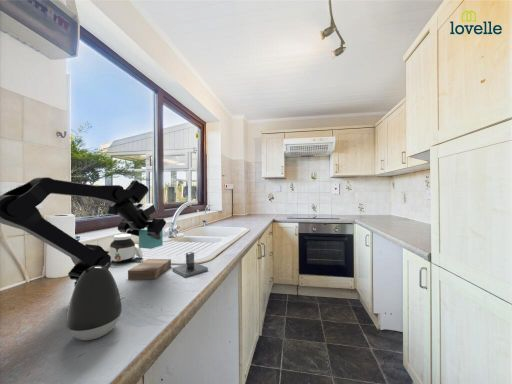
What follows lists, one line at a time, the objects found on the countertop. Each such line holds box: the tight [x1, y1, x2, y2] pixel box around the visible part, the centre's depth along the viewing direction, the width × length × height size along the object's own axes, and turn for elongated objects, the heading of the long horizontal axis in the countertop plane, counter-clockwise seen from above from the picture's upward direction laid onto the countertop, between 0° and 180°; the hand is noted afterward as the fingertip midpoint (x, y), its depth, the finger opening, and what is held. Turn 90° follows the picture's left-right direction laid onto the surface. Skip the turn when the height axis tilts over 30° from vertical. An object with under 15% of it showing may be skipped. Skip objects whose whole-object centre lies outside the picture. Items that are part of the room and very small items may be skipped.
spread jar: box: [109, 233, 144, 264], centre depth 106 cm, size 12×11×12 cm
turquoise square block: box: [138, 228, 164, 250], centre depth 90 cm, size 6×6×7 cm
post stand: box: [171, 251, 209, 278], centre depth 91 cm, size 10×10×7 cm
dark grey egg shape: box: [65, 262, 123, 341], centre depth 52 cm, size 10×10×15 cm
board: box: [127, 258, 172, 280], centre depth 90 cm, size 14×10×3 cm
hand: (153, 238), depth 91 cm, fingers closed on turquoise square block, 6 cm apart
